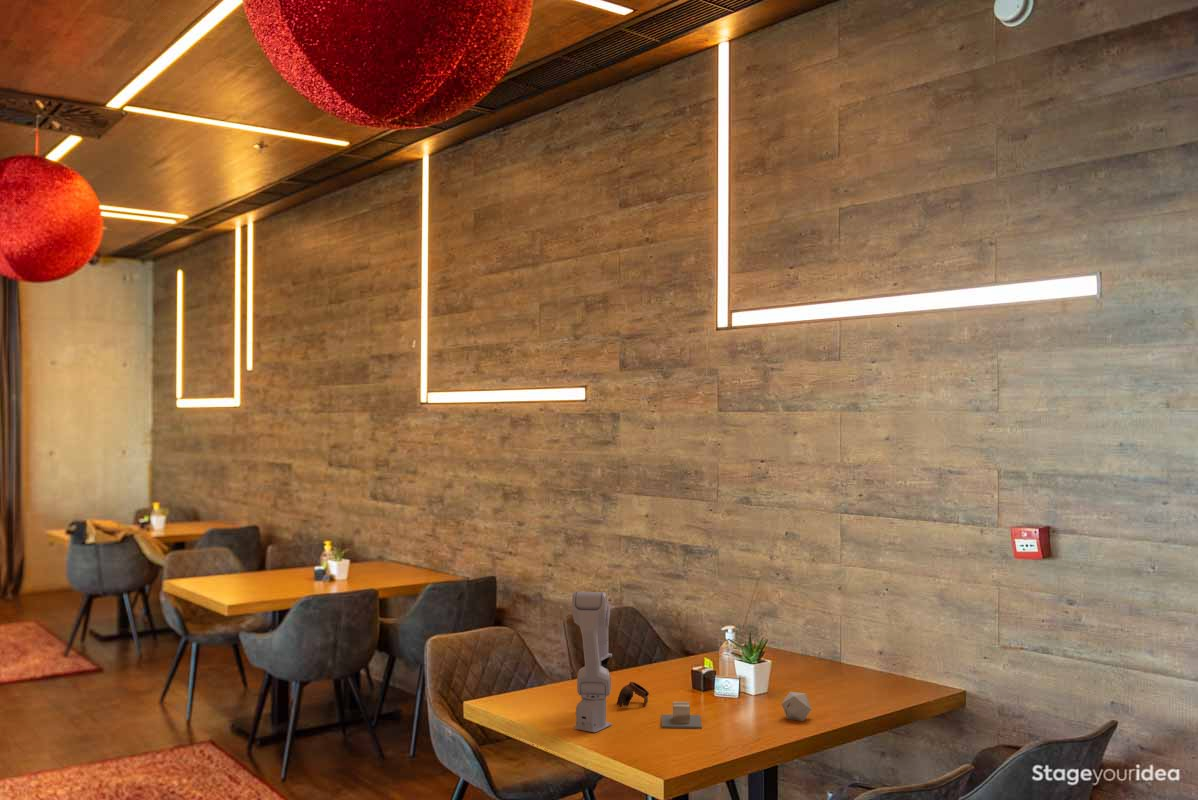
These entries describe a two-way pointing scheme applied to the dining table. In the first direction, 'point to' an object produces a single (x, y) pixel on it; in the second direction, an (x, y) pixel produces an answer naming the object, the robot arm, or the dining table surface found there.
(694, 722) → the slate mat
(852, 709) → the dining table surface
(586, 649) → the robot arm
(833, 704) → the dining table surface
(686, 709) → the cream block
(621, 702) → the dark brown looped arch
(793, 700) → the die
